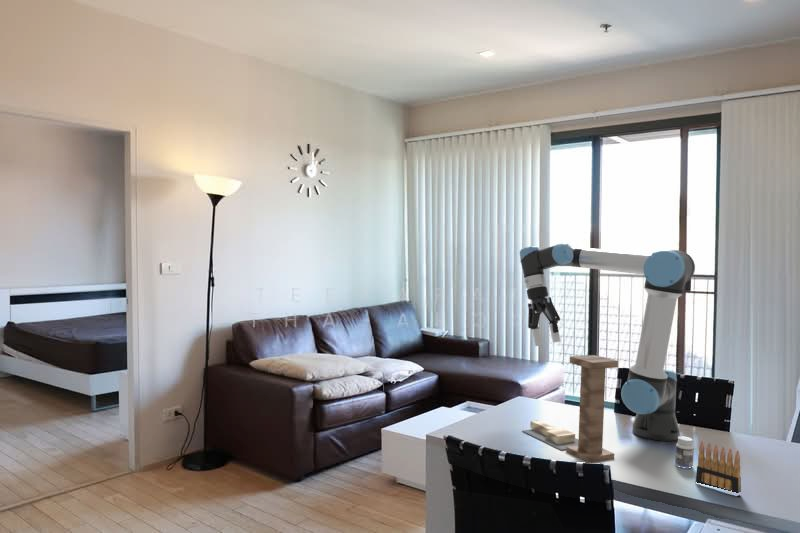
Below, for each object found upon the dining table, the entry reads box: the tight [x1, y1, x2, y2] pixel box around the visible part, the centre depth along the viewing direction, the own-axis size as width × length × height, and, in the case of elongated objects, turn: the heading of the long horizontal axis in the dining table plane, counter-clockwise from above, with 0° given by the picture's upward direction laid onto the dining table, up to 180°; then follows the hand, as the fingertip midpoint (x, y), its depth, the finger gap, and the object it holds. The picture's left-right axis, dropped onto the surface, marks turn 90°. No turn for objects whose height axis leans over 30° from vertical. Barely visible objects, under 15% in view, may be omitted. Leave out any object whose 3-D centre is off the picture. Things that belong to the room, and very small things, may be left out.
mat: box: [521, 428, 579, 452], centre depth 191 cm, size 20×12×1 cm, turn 25°
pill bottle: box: [674, 435, 695, 469], centre depth 169 cm, size 5×5×8 cm
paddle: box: [529, 419, 576, 444], centre depth 194 cm, size 17×7×2 cm, turn 25°
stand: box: [565, 354, 619, 463], centre depth 176 cm, size 10×10×30 cm
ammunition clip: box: [695, 441, 742, 493], centre depth 152 cm, size 11×2×12 cm, turn 41°
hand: (547, 344), depth 209 cm, fingers open, 13 cm apart
